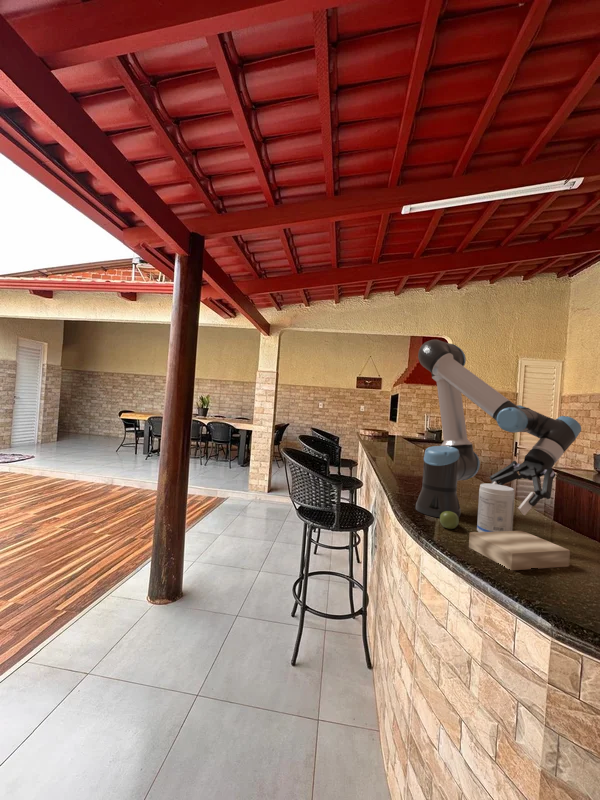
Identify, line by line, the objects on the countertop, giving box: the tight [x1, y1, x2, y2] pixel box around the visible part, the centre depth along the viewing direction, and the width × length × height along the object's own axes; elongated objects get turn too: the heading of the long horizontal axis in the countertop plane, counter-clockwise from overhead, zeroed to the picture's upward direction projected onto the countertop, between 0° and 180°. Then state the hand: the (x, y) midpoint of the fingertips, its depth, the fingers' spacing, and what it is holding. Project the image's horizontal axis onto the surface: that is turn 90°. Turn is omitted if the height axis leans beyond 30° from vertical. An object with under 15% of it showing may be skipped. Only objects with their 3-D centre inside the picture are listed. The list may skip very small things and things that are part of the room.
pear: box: [439, 511, 460, 530], centre depth 120 cm, size 6×5×10 cm
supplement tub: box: [476, 483, 515, 532], centre depth 114 cm, size 10×10×15 cm
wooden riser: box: [468, 530, 571, 571], centre depth 97 cm, size 14×18×4 cm
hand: (501, 505), depth 113 cm, fingers open, 13 cm apart
